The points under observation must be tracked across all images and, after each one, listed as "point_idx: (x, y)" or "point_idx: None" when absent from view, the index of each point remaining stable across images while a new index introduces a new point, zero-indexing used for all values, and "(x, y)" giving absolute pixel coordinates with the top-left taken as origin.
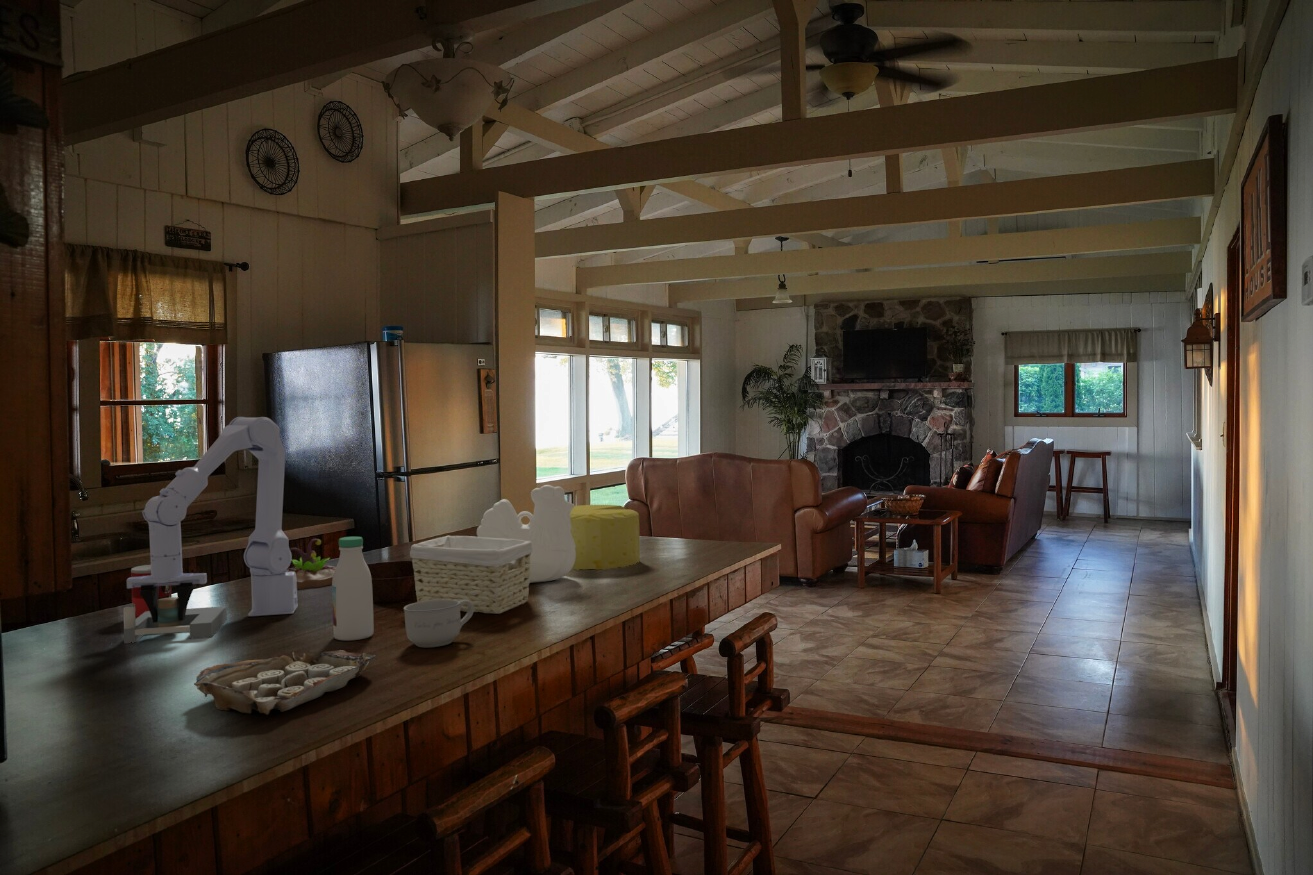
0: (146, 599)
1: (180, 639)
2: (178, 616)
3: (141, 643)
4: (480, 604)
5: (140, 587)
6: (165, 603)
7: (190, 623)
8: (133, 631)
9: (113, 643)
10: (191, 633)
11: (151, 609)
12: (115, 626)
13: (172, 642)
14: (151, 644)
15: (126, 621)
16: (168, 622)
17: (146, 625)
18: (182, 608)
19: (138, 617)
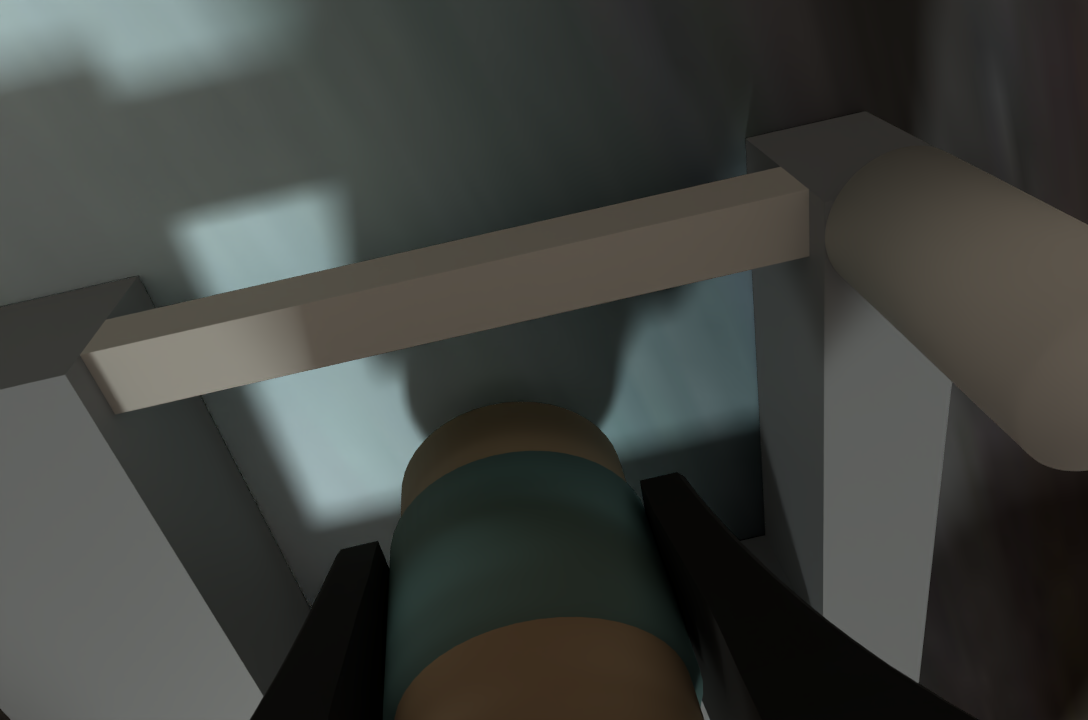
0: (887, 703)
1: (253, 256)
2: (390, 592)
3: (658, 100)
4: None
5: None
6: (533, 697)
7: (75, 401)
8: (819, 180)
9: (987, 129)
10: (100, 311)
11: (739, 579)
12: (1068, 651)
13: (265, 118)
14: (502, 35)
15: (995, 184)
16: (470, 467)
17: (791, 548)
18: (288, 676)
19: (915, 637)
